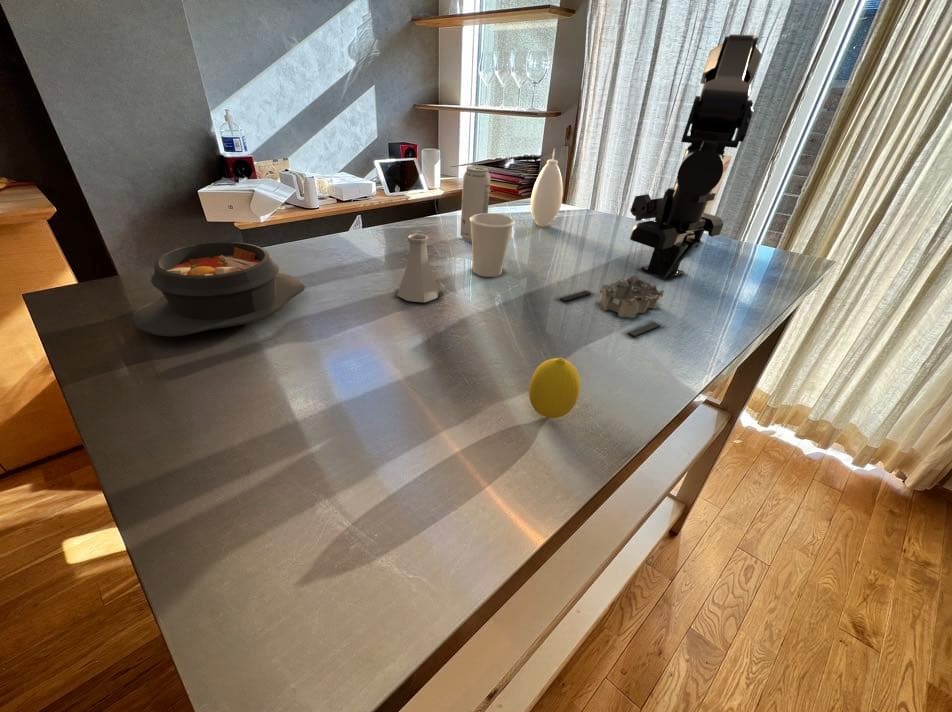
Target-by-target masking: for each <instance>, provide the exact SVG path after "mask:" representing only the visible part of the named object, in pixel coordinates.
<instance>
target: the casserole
mask: <svg viewBox="0 0 952 712" xmlns="http://www.w3.org/2000/svg"><path fill="white" fill-rule="evenodd" d="M278 264H279V263H277V262H276V261H275V260H274V259H273V258H272V257H271V254H270V253H269V252H268V251H267V250H266V249H265V248H263V247H261V246H258V245H255V244H250V243H246V242H245V243H244V242H232V241H231V242H230V241H228V242H227V241H225V242H223V241H222V242H221V241H220V242H218V241H217V242H209V243H208V242H206V243H199V244H193V245H188V246H184V247H180V248H176V249H174V250H171V251H168V252H166V253H164V254H162V255H160V256H159V257H158V258H157V259H156V260H155V261H154V266H153V267H154V268H153V269H154V271H153V272H154V273H153V274H152V275H151V277H150V278H151V279H150V283H151V284H152V286H153V287H154V288H155V289H157V290H158V291H160V292H161V293H162V295H163V296H161V297H159V298H158V299H156V300H153V301H151V302H149V303H147V304H144V305H142V306H141V307H139V308H137V309H135V311H134V312H133V313H132V317H131V320H132V321H131V322H132V324H133V325H134V326H135V327H137V328H138V329H139V330H141V331H143V332H145V333H147V334H152V335H156V336H163V337H172V338H174V337H184V336H190V335H194V334H199V333H202V332H205V331H210V330H219V329H225V328H232V327H239V326H243V325H247V324H251V323H255V322H257V321H261V320H263V319H266V318H268V317H270V316H272V315H274V314H275V313H277V312H278V311H280V310H282V309H283V308H284V307H285V306H286V305H287V304H288V303H289V302H290V301H291V300H292V299H293V298H295V297H297V296H298V295H300V294H301V293H303V292H304V291H305V289H306V286H305V284H304V282H303V281H302V280H300V279H298V278H296V277H294V276H293V275H289V274H286V273H283V272H280V266H279V265H278Z"/></svg>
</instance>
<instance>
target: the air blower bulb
mask: <svg viewBox="0 0 952 712" xmlns="http://www.w3.org/2000/svg"><path fill="white" fill-rule="evenodd" d="M555 153H556V147H554V148H553V151H552V156H551V158H550V159H548V160H546V164H545V165H544V167H542V169H541V170H540V172H539V174H538V176H537V178H536V180H535V182H534V185H533V188H532V192H531V196H530V214H531V217H532V220H533V221H534V222H535V224H536V225H537V226H539V227H542V228H544V227H547V226H549V225H550V223H553V222H554V221H555V219H557V216H558V215H559V213H560V209H561V207H562V202H563V194H564V187H563V178H562V177H563V176H562V174H561V170H560V167H559V165H558V163H559V161H558V160H557V159H555Z"/></svg>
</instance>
